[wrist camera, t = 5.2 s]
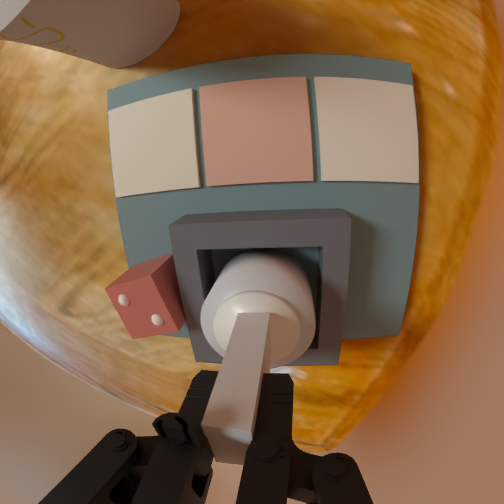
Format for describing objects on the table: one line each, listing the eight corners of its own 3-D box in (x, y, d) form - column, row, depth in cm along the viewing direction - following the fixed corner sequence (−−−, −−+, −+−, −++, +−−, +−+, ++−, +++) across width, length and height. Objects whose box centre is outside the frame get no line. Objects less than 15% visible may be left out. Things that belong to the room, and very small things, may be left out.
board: (151, 327, 23) (132, 352, 19) (115, 92, 16) (84, 85, 12) (395, 328, 20) (409, 357, 16) (404, 67, 13) (427, 51, 9)
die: (155, 309, 21) (130, 341, 17) (133, 265, 20) (102, 290, 15) (198, 300, 20) (177, 334, 16) (176, 251, 19) (148, 277, 15)
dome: (223, 328, 19) (208, 370, 15) (213, 248, 17) (189, 278, 13) (309, 329, 18) (312, 373, 14) (311, 245, 16) (318, 277, 12)
